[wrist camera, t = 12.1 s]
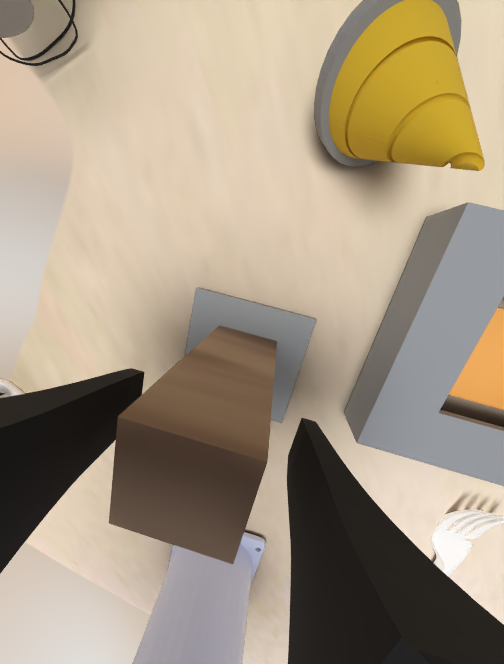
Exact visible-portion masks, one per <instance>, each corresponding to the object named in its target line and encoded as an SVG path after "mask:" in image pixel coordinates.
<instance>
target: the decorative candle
mask: <svg viewBox="0 0 504 664" xmlns="http://www.w3.org/2000/svg"><path fill="white" fill-rule="evenodd" d="M20 394H25V393H24V392H23V391H21V390H20V389H19V388H17V387H16V386H15V385H14V384H12V383H11V382H9V381H7V380H4V379H1V378H0V398H3V397H9V396H15V395H20Z"/></svg>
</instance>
